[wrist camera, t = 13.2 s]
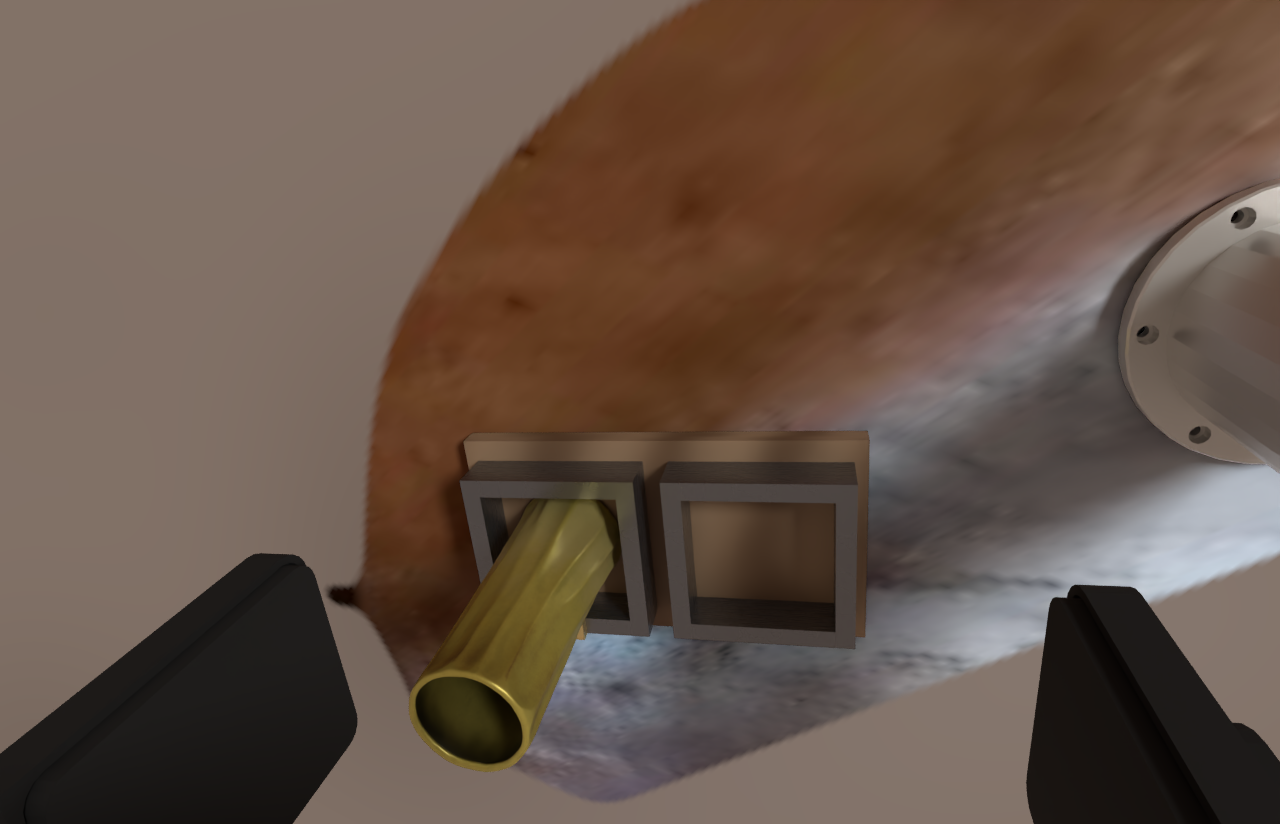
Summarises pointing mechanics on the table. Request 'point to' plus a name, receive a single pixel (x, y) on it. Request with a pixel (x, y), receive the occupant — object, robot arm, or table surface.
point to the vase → (515, 636)
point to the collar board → (717, 509)
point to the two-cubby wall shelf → (682, 541)
